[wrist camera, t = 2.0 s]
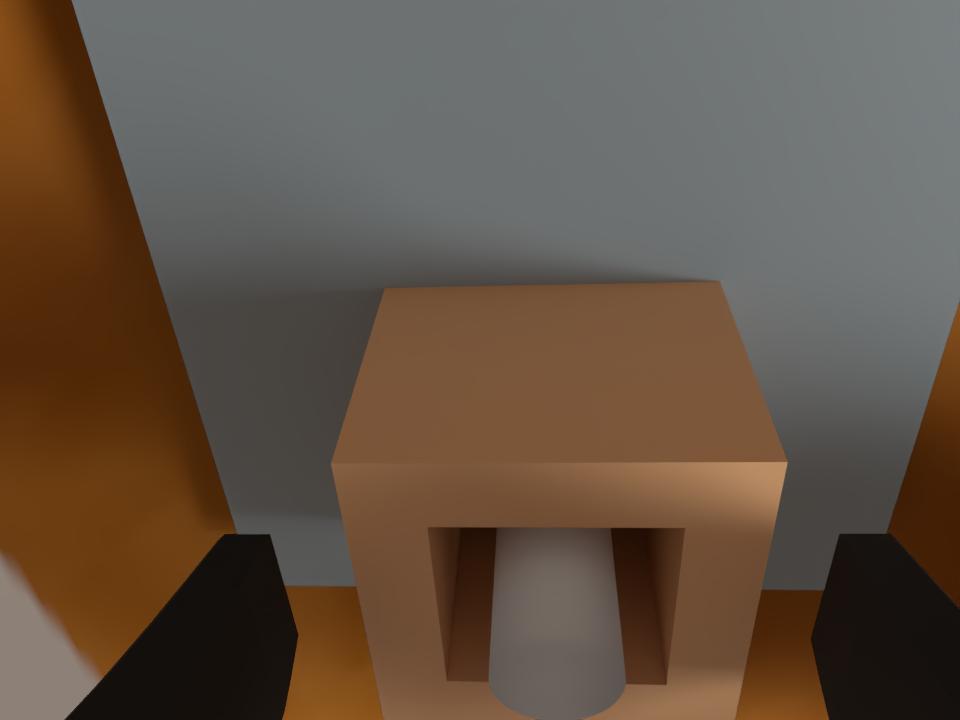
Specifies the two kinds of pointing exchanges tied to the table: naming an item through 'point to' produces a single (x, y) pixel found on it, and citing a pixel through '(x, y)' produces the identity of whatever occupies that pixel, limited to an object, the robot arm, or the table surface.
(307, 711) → the table surface
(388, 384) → the collar
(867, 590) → the robot arm
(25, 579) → the table surface
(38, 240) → the table surface
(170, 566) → the table surface
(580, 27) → the board
